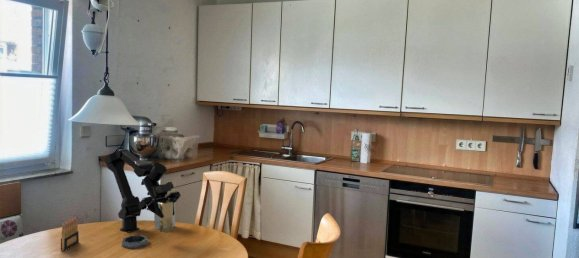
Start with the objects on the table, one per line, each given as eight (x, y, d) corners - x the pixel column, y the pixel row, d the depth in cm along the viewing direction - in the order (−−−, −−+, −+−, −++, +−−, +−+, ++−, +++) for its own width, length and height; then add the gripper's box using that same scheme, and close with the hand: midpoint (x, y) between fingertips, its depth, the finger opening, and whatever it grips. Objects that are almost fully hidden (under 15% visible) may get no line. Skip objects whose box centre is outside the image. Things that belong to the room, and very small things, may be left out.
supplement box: (166, 230, 206) (166, 204, 205) (153, 228, 208) (153, 202, 207) (175, 226, 213) (175, 201, 212) (163, 224, 215) (163, 199, 214)
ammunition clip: (64, 251, 176) (64, 222, 175) (60, 250, 176) (60, 222, 175) (78, 242, 187) (78, 215, 186) (74, 242, 187) (74, 215, 186)
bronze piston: (156, 230, 187) (157, 202, 186) (166, 227, 192) (166, 200, 191) (165, 233, 184) (166, 204, 183) (175, 230, 189) (175, 202, 188)
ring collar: (116, 245, 184) (116, 240, 184) (136, 238, 194) (136, 233, 194) (133, 250, 179) (133, 245, 179) (153, 243, 188) (153, 238, 188)
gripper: (142, 179, 181) (157, 210, 175) (178, 173, 196) (194, 202, 190) (131, 194, 186) (146, 224, 181) (167, 188, 201) (182, 215, 195)
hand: (168, 216), depth 186 cm, fingers closed on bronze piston, 5 cm apart
